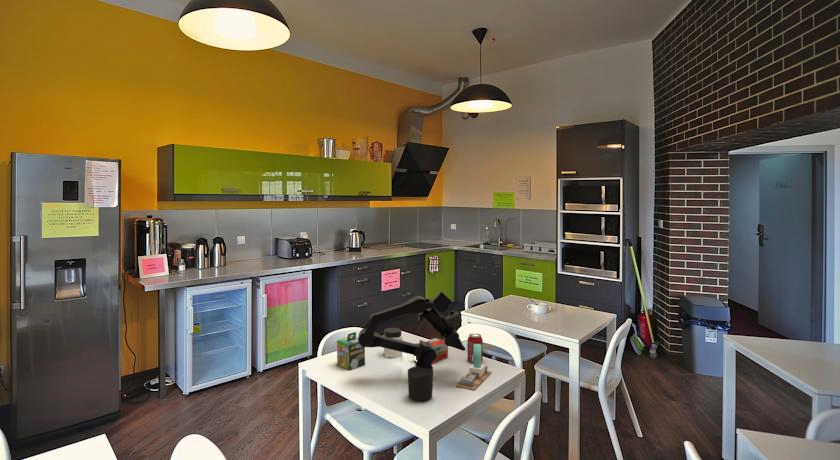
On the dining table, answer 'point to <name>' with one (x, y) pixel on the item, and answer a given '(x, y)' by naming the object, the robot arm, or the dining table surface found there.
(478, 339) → the soda can
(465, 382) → the rail
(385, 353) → the jar
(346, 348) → the chalk box
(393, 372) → the dining table surface
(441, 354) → the medicine box
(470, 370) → the carriage
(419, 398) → the pen holder
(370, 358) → the dining table surface
